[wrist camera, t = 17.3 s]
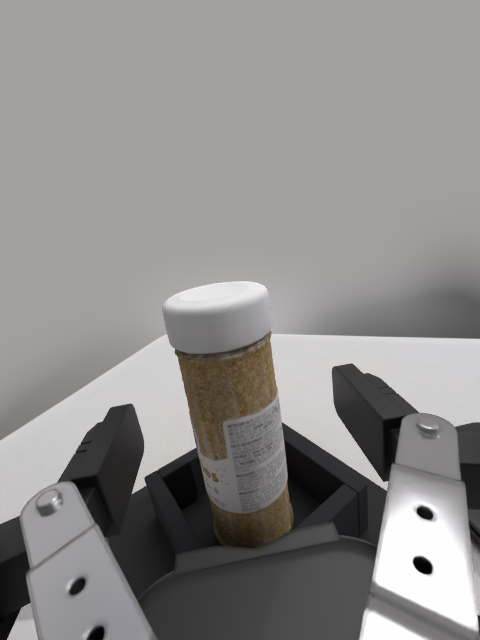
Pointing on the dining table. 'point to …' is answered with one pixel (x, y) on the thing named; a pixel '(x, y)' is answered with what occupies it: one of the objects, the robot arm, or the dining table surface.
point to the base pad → (197, 517)
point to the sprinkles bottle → (233, 407)
